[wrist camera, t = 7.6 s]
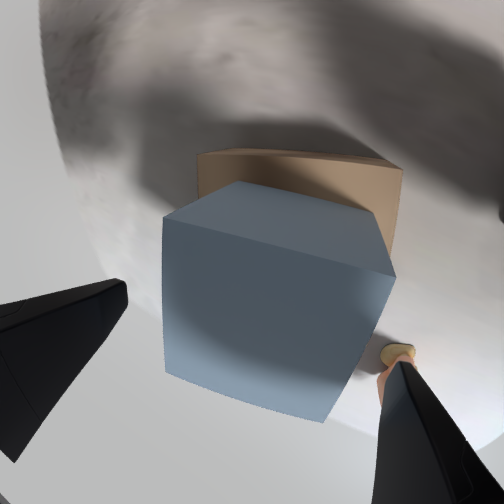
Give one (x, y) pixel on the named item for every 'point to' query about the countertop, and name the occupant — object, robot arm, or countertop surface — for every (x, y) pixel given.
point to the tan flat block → (310, 178)
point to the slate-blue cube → (271, 295)
